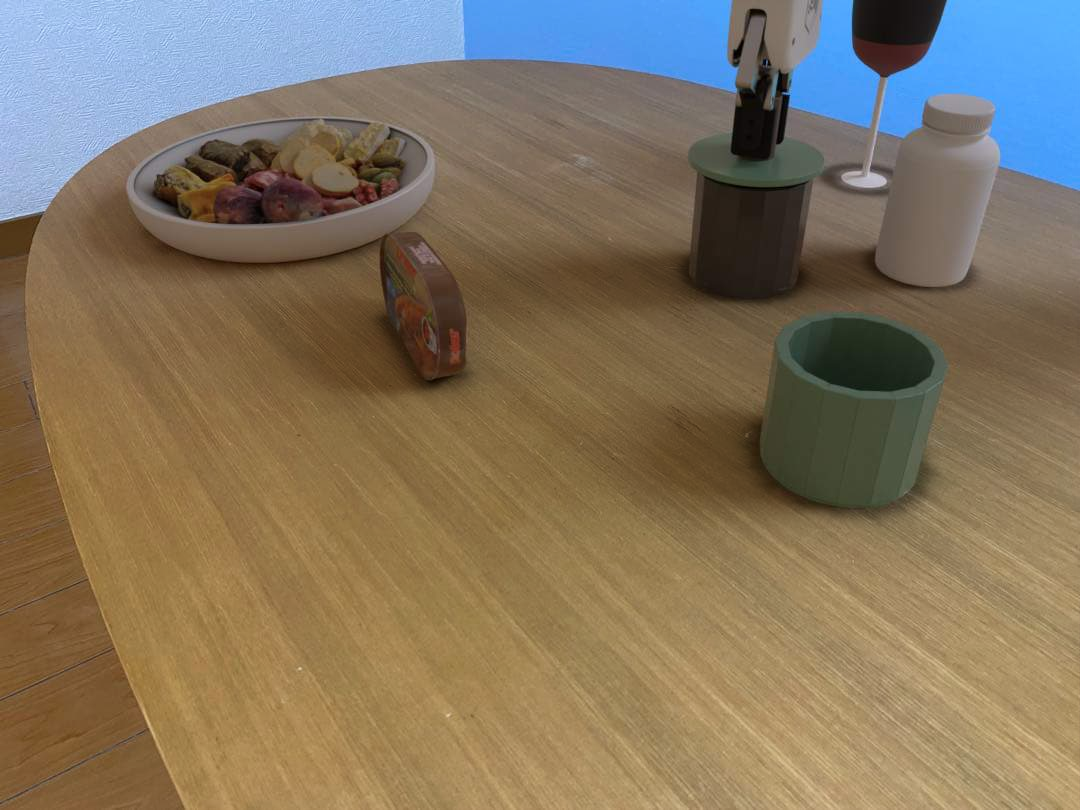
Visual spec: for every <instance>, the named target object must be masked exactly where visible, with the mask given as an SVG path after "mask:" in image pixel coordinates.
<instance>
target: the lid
mask: <svg viewBox="0 0 1080 810" xmlns="http://www.w3.org/2000/svg"><path fill="white" fill-rule="evenodd" d="M783 94H784V93H781V92H779V91H777V90H776V93H775V99H774V105H773V108H777V115H776V122H775V129H774V137H773V144H772V152H771V155H770V157H769V158H768V159H766V160H763V159H757V158H750V157H744V156H738V155H733V154H732V153H731V141H732V132H729V133H720V134H716V135H715V134H714V135H712V136H707V137H704V138H702V139H699V140H697V141H696V142H694V143H692V145H691V146H690V147H689V149H688V152H687V162H688V164H689V166H690V167H691V168H692V169H693V170H694V171H695V172H696V173H697V172H698V173H700V174H702V175H704V176H706V177H709V178H711V179H714V180H717V181H721V182H725V183H729V184H734V185H741V186H750V187H782V186H790V185H796V184H800V183H804V182H807V181H809V180H812V179H813V180H814V179H815V178H817V177H818V176H819V175H820V174H822V172H823V170H824V168H825V167H824V166H825V157H824V154H823V153H822V152H821V151H820V150H819V149H818V148H816V147H815V146H813V145H811V144H809V143H807V142H805V141H802V140H799V139H797V138H793V137H788V136H784V140H783V141H782V143H781V144H779V145H776V140H777V133H778V126H779V118H780V111H781V104H782V97H783Z"/></svg>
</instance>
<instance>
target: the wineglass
mask: <svg viewBox="0 0 1080 810" xmlns="http://www.w3.org/2000/svg"><path fill="white" fill-rule="evenodd" d="M947 2H948V0H852V8H851V45H852V50H853V52H854V55H855V56H856V57H857V59H858V60H859V61H860V62H861V63H863V65H865V66H866V67H868V68H869V69H871V70H872V71H873V72H875V73H876V74H877V75H878V76H879V80H878V86H877V91H876V96H875V101H874V107H873V112H872V117H871V122H870V127H869V132H868V138H867V143H866V148H865V153H864V157H863V163H862V169H861V170H855V171H848V172H845V173H843V174H842V175H841V177H840V178H841V180H842V181H843V182H844V183H845V184H848V185H849V186H853V187H856V188H865V189H866V188H867V189H868V188H869V189H870V188H871V189H873V188H874V189H875V188H879V187H883V186H885V185H886V184H887V182H888V181H887V178H885V177H884V176H883V175H880V174H878V173H875V172H872V171H870V170H871V164H872V160H873V155H874V149H875V146H876V145H875V144H876V140H877V136H878V135H877V134H878V130H879V124H880V119H881V114H882V110H883V105H884V99H885V94H886V89H887V84H888V79H889V77H890V76H892V75H895V74H897V73H900V72H903V71H905V70H908V69H910V68H912V67H913V66H916V65H917V64H918V63H920V62H921V61H923V59H924V57H925V56H926V55H927V53H928V52H929V50H930V47H932V43H933V41H934V39H935V36H936V34H937V32H938V29H939V27H940V24H941V21H942V18H943V14H944V11H945V8H946V5H947Z"/></svg>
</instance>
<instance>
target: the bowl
mask: <svg viewBox="0 0 1080 810" xmlns="http://www.w3.org/2000/svg"><path fill="white" fill-rule="evenodd" d="M435 161H436V160H435V153H434V151H433V149H432V147H431V146H430V144H429V143H428V142H427V141H426V140H425V139H423V138H422V137H420V135H417V134H416V133H414V132H412V131H410V130H407V129H406V128H402V127H400V126H397V125H394V124H390V123H386V122H382V121H377V120H371V119H364V118H359V117H358V118H357V117H347V116H323V115H322V116H321V115H320V116H317V115H316V116H314V115H313V116H292V117H291V116H290V117H289V116H288V117H278V118H268V119H262V120H261V119H260V120H253V121H247V122H243V123H237V124H232V125H228V126H223V127H219V128H215V129H210V130H208V131H207V130H206V131H203V132H201V133H197V134H194V135H192V136H188V137H186V138H183V139H180V140H178V141H175V142H173V143H170V144H169V145H166V146H164V147H162V148H160V149H159V150H157V151H154V152H153V153H151V154H150V155H148V156H147V157H145V158H144V159H143V160H141V161H140V162H139V163H138V164H137V165H136V166H135V167H134V168H133V169H132V170H131V172H130V173H129V174H128V177H127V180H126V186H125V190H126V195H127V198H128V202H129V204H130V207H131V209H132V211H133V213H134V215H135V217H136V218H137V220H138V221H139V222H140V224H141V225H142V226H143V227H144V228H145V229H146V231H148V232H149V233H151V235H153V237H155V238H156V239H158V240H159V241H162V243H164V244H166V245H168V246H170V247H172V248H174V249H176V250H179V251H181V252H183V253H187V254H190V255H193V256H197V257H201V258H206V259H211V260H215V261H221V262H229V263H230V262H232V263H246V264H247V263H248V264H266V263H267V264H270V263H271V264H272V263H287V262H295V261H303V260H310V259H317V258H321V257H326V256H331V255H335V254H339V253H342V252H346V251H349V250H352V249H355V248H359V247H361V246H364V245H366V244H370V243H371V242H374V241H376V240H378V239H382V237H383V236H384V235H385V234H386V233H390V234H391V233H392V232H394V231H396V230H397V229H398V228H400V227H401V226H403V225H404V224H406V223H407V222H408V221H409V220H411V219H412V218H413V217H414V216H415V215H416V214H417V213H418V212H419V211H420V210H421V208H422V207H423V206H424V204H425V203H426V201H427V200H428V197H429V195H430V194H431V192H432V189H433V187H434V186H433V185H434V181H435V175H436V163H435Z"/></svg>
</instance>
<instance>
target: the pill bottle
mask: <svg viewBox="0 0 1080 810" xmlns="http://www.w3.org/2000/svg"><path fill="white" fill-rule="evenodd" d="M995 112H996V107H995V105H994V103H992V101H990V100H987V99H985V98H983V97H980V96H975V95H971V94H965V93H964V94H963V93H940V94H935V95H933V96H930V97H928V98H927V99H926V101H925V103H924V105H923V111H922V115H921V126H919V127H918V128H914V129H913V130H911V131H910V132H908V133H907V134H906V135H905V136H904V137H903V139H902V141H901V143H900V144H899V146H898V150H897V156H896V160H895V164H894V169H893V173H892V177H891V183H890V186H889V191H888V196H887V199H886V203H885V209H884V214H883V218H882V221H881V226H880V232H879V236H878V241H877V244H876V250H875V255H874V256H875V257H874V262H875V266H876V267H877V269H878V270H879V271H880V272H881V273H882V274H883V275H885V276H887V277H888V278H890V279H892V280H895V281H897V282H900V283H904V284H907V285H912V286H916V287H924V288H927V287H928V288H942V287H943V288H944V287H949V286H953V285H956V284H958V283H960V282H962V281H963V280H964V279H965V277H966V276H967V275H968V271H969V269H970V266H971V262H972V259H973V256H974V252H975V248H976V246H977V241H978V238H979V235H980V231H981V228H982V224H983V220H984V218H985V215H986V210H987V207H988V204H989V201H990V197H991V194H992V190H993V186H994V183H995V179H996V176H997V173H998V169H999V167H1000V162H1001V150H1000V147H999V144H998V143H997V142H996V140H995V139H993V137H992V136H990V135H989V134H990V133H991V130H992V127H991V126H992V123H993V120H994V117H995V114H996V113H995Z"/></svg>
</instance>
